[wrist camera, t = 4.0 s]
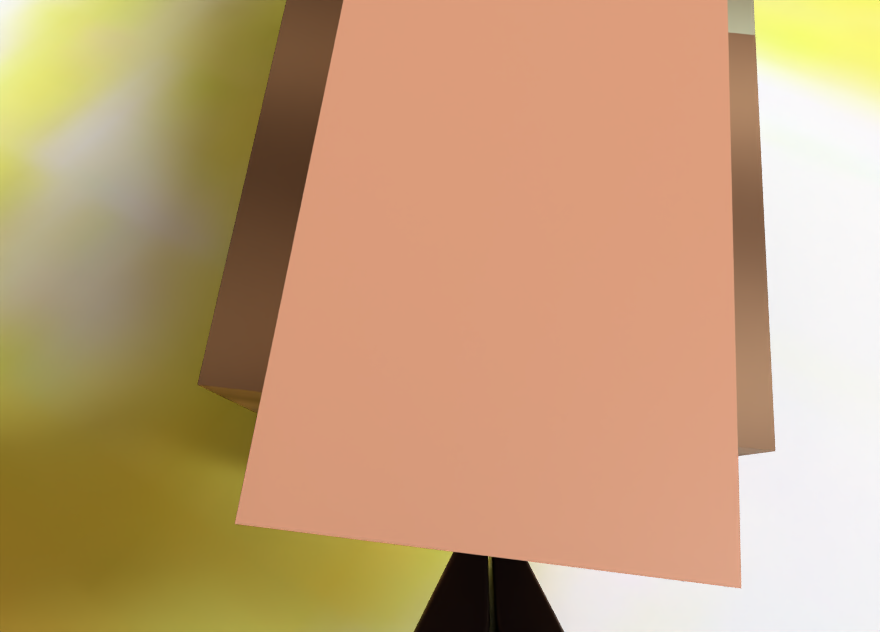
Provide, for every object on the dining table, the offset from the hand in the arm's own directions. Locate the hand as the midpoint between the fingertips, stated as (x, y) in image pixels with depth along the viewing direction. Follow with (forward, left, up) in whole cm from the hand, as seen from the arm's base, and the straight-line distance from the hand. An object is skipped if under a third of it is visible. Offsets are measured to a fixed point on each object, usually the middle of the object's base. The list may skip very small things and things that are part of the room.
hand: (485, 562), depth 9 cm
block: (+5, +6, -7) cm, 11 cm away
